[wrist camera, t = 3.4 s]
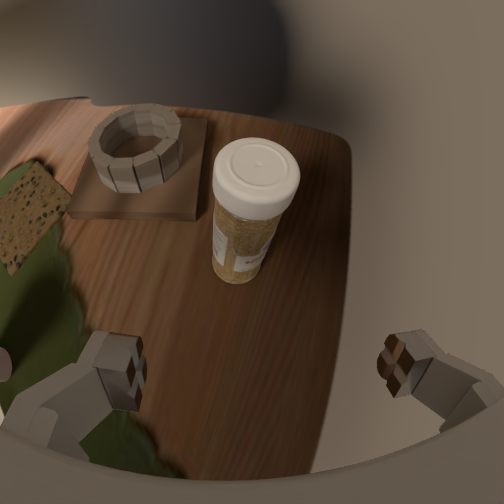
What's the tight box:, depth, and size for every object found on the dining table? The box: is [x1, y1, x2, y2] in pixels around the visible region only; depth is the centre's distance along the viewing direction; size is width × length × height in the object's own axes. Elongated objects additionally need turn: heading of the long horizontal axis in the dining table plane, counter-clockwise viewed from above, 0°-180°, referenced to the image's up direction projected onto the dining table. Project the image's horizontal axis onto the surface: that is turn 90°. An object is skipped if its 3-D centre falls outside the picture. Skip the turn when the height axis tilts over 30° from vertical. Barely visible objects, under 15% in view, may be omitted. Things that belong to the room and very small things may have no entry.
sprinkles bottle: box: [212, 138, 300, 284], centre depth 20 cm, size 5×5×14 cm
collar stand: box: [67, 103, 208, 222], centre depth 26 cm, size 14×14×6 cm
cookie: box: [0, 161, 72, 276], centre depth 24 cm, size 12×12×1 cm
